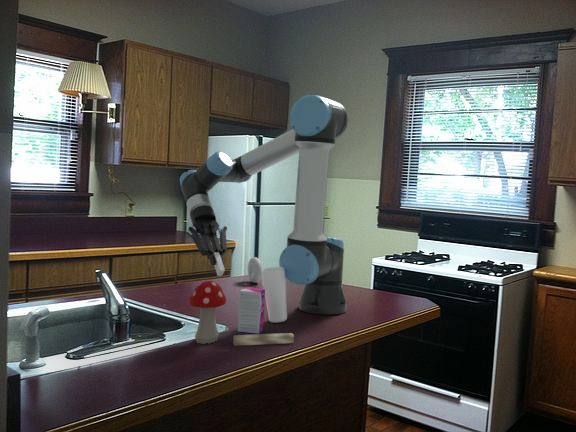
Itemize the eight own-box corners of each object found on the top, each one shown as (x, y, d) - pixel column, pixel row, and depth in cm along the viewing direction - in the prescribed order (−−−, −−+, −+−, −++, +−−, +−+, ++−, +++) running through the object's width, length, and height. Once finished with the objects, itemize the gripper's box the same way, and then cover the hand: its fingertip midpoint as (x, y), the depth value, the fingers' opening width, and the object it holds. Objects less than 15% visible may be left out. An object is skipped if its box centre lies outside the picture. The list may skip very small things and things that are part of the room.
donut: (246, 280, 224) (246, 255, 223) (254, 280, 226) (255, 255, 225) (254, 285, 215) (255, 259, 214) (263, 285, 216) (264, 259, 216)
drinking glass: (276, 316, 168) (270, 266, 166) (294, 318, 164) (289, 266, 162) (261, 322, 162) (255, 271, 161) (280, 324, 158) (274, 272, 157)
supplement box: (258, 335, 148) (260, 292, 147) (236, 333, 149) (238, 290, 149) (264, 330, 154) (265, 288, 153) (243, 328, 155) (244, 286, 154)
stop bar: (291, 340, 145) (291, 332, 145) (293, 342, 143) (293, 335, 143) (233, 343, 141) (233, 335, 141) (234, 345, 139) (234, 337, 139)
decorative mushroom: (209, 348, 136) (210, 286, 135) (180, 342, 140) (182, 281, 139) (232, 338, 145) (234, 280, 144) (204, 333, 149) (206, 276, 148)
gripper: (216, 219, 186) (237, 279, 173) (178, 219, 179) (196, 281, 166) (223, 204, 181) (245, 264, 168) (184, 203, 174) (204, 266, 161)
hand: (221, 272), depth 167 cm, fingers closed
